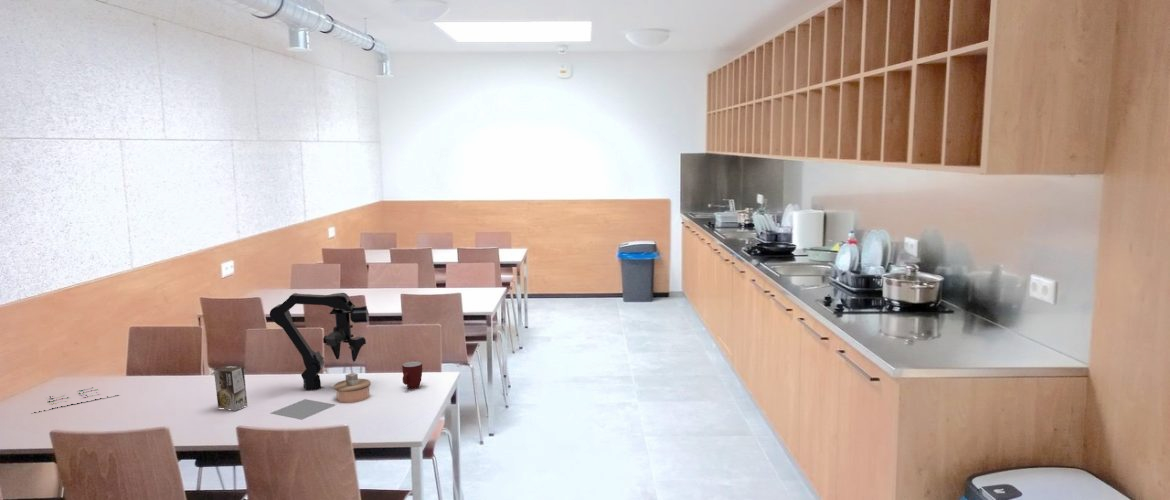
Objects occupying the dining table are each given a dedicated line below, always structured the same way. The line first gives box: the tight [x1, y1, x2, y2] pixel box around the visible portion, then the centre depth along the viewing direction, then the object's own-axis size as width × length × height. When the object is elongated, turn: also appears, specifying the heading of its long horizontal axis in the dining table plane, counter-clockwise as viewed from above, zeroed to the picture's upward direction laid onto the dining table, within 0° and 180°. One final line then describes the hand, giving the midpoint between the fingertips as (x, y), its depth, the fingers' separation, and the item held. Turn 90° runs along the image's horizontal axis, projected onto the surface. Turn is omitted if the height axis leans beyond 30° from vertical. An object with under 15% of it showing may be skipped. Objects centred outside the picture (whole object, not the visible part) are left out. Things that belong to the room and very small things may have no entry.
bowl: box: [336, 386, 371, 403], centre depth 297 cm, size 12×12×6 cm
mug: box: [401, 360, 423, 390], centre depth 308 cm, size 10×8×10 cm
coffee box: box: [213, 365, 248, 411], centre depth 290 cm, size 9×6×16 cm
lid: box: [333, 372, 372, 392], centre depth 296 cm, size 14×14×5 cm
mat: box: [269, 398, 336, 420], centre depth 285 cm, size 17×17×1 cm
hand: (345, 360), depth 310 cm, fingers open, 9 cm apart
